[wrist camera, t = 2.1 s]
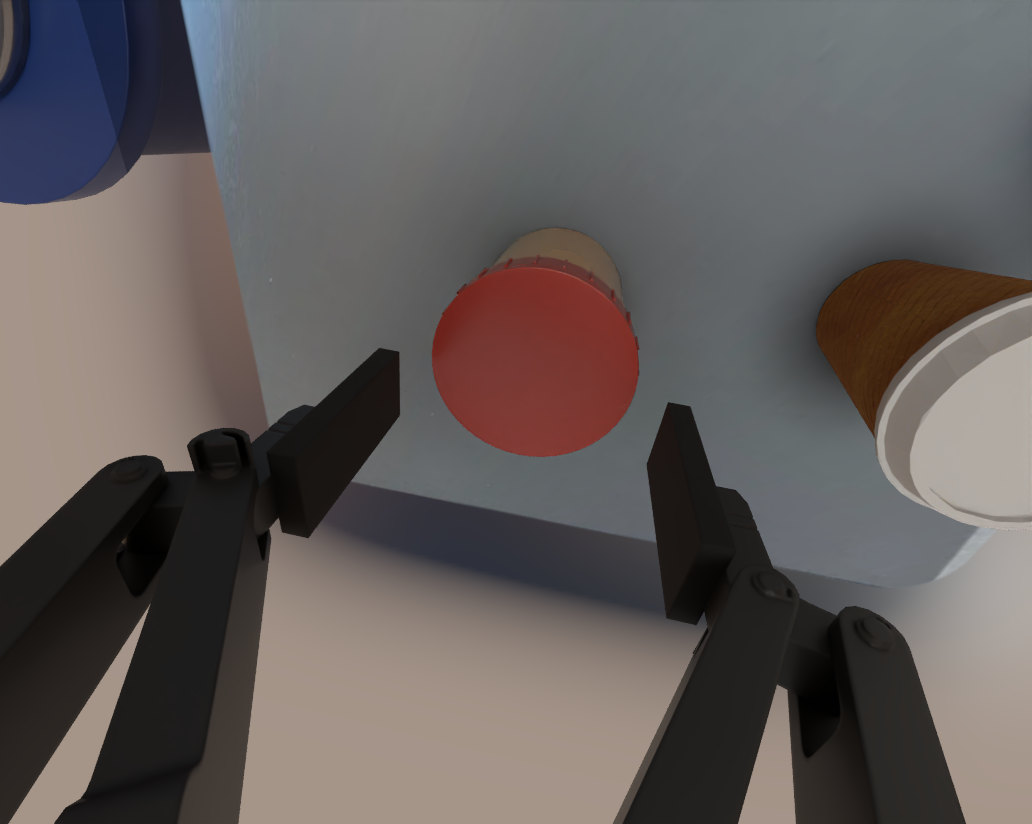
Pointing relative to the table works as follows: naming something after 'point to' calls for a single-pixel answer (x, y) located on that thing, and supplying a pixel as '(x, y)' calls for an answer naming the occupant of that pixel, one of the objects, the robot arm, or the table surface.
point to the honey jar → (567, 253)
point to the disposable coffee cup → (941, 383)
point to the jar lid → (536, 357)
